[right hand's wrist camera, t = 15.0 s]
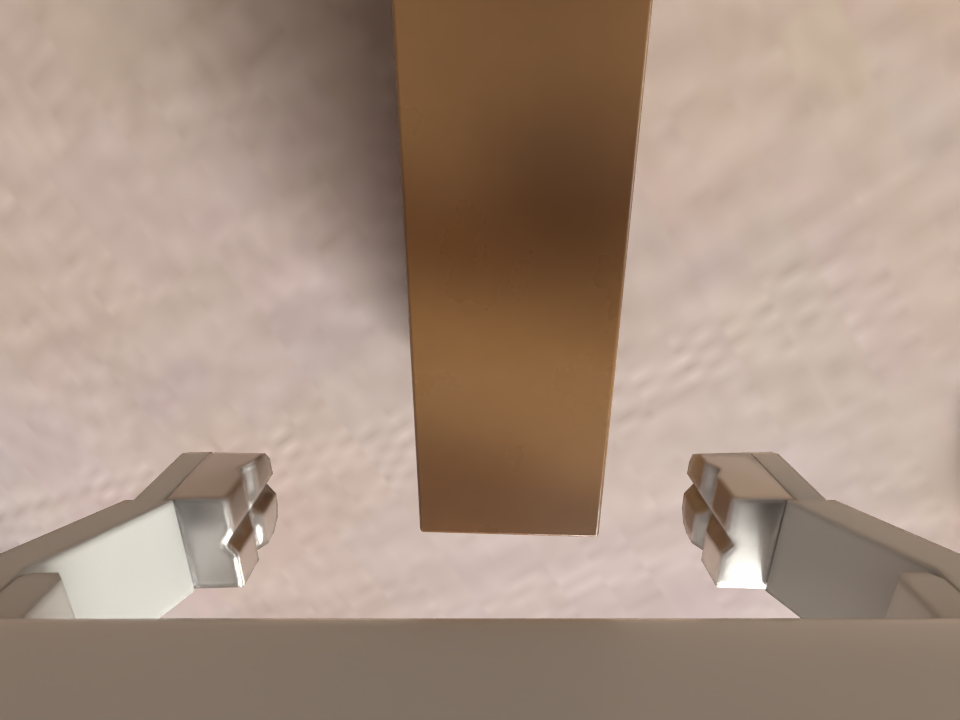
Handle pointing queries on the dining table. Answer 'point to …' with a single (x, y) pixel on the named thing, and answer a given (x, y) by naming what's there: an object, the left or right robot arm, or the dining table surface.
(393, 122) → the dining table surface
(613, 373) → the bar
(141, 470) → the dining table surface
